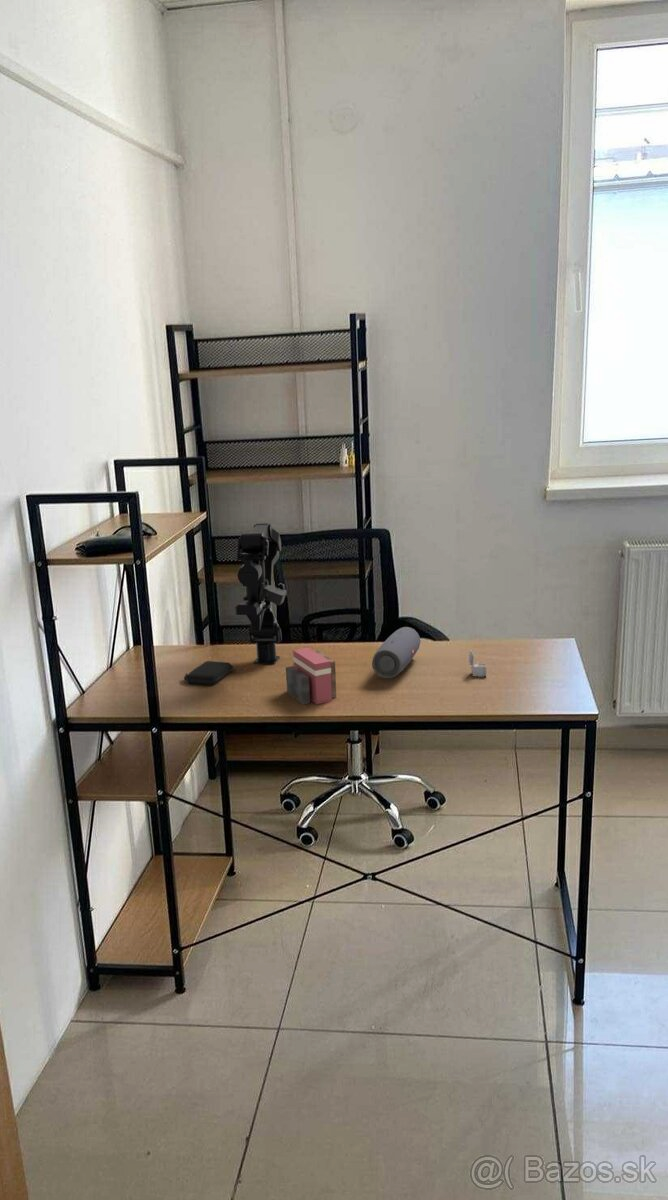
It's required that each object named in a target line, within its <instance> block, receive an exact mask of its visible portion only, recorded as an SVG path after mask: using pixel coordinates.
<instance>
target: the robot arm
mask: <svg viewBox="0 0 668 1200" xmlns="http://www.w3.org/2000/svg"><path fill="white" fill-rule="evenodd" d="M237 538H238V539H237V554H236V561H242V566H241V567H240V568H238V569H239V570H238V572H237V579H238V581H239V583H240V584H241V585H242V587H244V591H245V592H244V593H245V595H244V596H243V601H241V602H240V603H238V604H237V605H236V606H235V607H234V612H235V615H236V616H237V615H238V616H246V617H247V618H248V620H249V622H250V623H249V624H248V632H249V635H248V636H249V640H250V641H249V642H250V644H256V647H255V648H256V658H255V659H254V660H253V664H258V665H259V664H260V665H274V664H276V663H277V662H278V660H279V659H280V658H281V656H280V655H277V651H276V650H277V649H276V648H277V646H276V645H277V644H279V643H281V642H283V641H282V640H283V637H282V636H283V635H282V629H281V627H280V625H279V623H278V620H277V618H276V616H275V614H274V612H273V604H274V605H277V606H281V605H282V604H283V603H284V601H285V598H286V596H287V595H288V593H287V589H286V585H285V583H281V582H280V583H278V584H277V585H274V583H273V582H274V580H273V579H274V565H275V564H276V563H277V561H278V560H279V558H280V552H281V551H282V541H281V540H282V539H281V536H280V533H279V532H278V531H277V530H275V529H273V525H272V523H266V522H263V523H262V522H261V523H255V524H254V525H253V528H252V530H250V531H249V532H243V533H241V534H240V537H237Z"/></svg>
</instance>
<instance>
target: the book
mask: <svg viewBox="0 0 668 1200" xmlns="http://www.w3.org/2000/svg"><path fill="white" fill-rule="evenodd" d="M315 651H316V650H313V649H311V648H310V647H302V648H297V649H292V659H293V661H292V663H293V667H295V668H296V669H297V670H299V671H300V672H302V673H303V674H305V675H306V676H308V677H309V691H310V701H311V702H313V703H314V704H316V705H320V704H325V703H329V702H332V701H333V698H332V683H331V661H329V660H328V659H326V658H325V657H323V656H321V655H320V654H318V653H316V652H315Z"/></svg>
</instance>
